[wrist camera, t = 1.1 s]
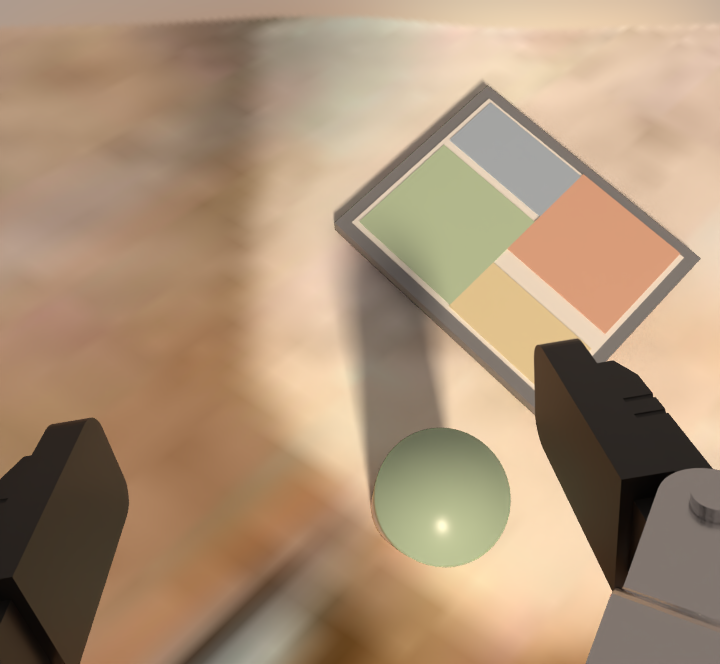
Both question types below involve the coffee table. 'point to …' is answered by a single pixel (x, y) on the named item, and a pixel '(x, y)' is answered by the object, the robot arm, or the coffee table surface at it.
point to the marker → (441, 498)
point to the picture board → (514, 243)
